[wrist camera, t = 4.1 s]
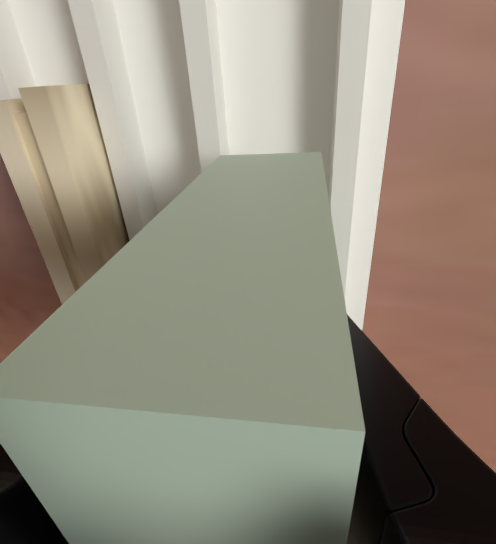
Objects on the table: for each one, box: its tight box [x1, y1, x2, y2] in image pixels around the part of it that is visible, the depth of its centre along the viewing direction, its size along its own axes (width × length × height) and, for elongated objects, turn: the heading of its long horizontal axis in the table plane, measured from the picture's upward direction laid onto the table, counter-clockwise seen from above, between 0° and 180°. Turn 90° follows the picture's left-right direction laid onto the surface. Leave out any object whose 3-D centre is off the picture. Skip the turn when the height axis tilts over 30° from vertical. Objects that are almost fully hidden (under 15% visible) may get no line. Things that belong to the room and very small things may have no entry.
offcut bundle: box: [0, 84, 130, 304], centre depth 15 cm, size 11×3×4 cm, turn 4°
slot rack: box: [0, 0, 405, 330], centre depth 15 cm, size 20×15×2 cm
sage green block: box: [0, 152, 365, 544], centre depth 8 cm, size 6×3×9 cm, turn 4°
